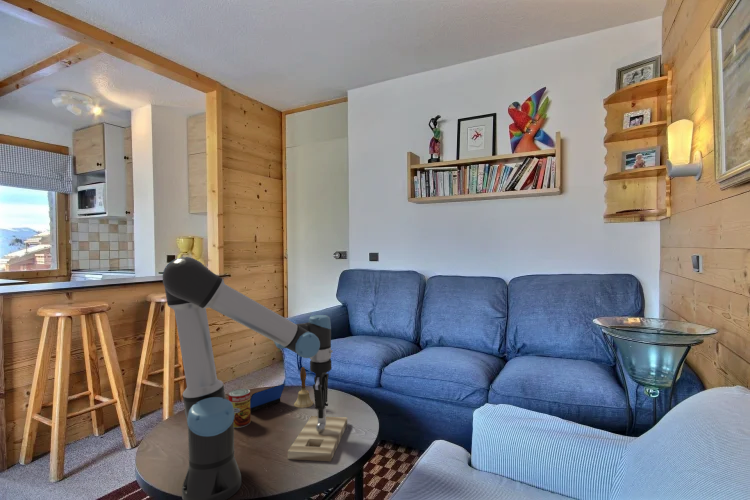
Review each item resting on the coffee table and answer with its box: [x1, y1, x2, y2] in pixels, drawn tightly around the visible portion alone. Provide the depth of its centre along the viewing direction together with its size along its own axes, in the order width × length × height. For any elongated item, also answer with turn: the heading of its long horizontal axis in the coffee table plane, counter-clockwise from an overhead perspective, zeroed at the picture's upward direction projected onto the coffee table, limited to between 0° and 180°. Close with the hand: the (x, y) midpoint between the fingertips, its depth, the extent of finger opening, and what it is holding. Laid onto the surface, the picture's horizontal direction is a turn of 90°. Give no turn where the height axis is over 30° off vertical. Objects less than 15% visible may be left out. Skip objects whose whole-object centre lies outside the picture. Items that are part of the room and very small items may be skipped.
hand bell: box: [293, 366, 314, 409], centre depth 165 cm, size 8×8×16 cm
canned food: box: [228, 388, 252, 429], centre depth 148 cm, size 8×8×12 cm
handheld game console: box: [250, 383, 285, 413], centre depth 164 cm, size 16×13×9 cm
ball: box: [316, 423, 325, 433], centre depth 134 cm, size 3×3×3 cm
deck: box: [287, 415, 348, 462], centre depth 133 cm, size 26×14×2 cm, turn 173°
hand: (321, 425), depth 136 cm, fingers closed
